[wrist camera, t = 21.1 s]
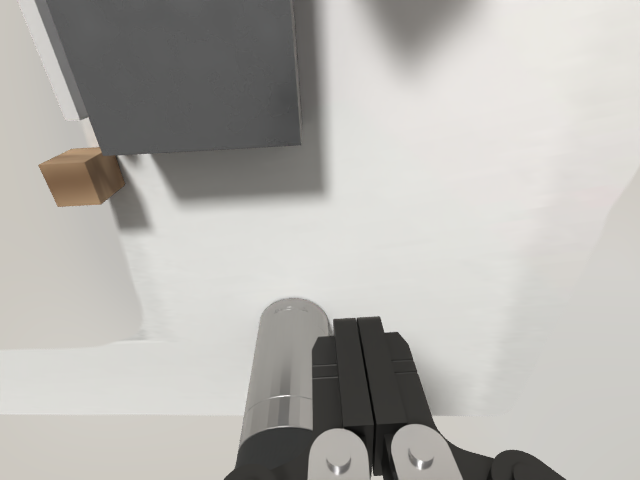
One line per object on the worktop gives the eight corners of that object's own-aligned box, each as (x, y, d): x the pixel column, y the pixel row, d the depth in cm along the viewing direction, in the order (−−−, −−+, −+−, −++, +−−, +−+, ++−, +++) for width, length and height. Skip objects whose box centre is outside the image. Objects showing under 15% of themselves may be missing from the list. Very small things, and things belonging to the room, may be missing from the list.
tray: (285, 99, 33) (282, 108, 29) (96, 110, 33) (65, 121, 29) (265, -122, 25) (257, -153, 21) (18, -109, 25) (-39, -137, 21)
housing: (302, 125, 34) (301, 145, 28) (139, 134, 34) (103, 156, 28) (281, -172, 24) (272, -241, 18) (49, -160, 24) (-37, -225, 18)
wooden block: (125, 184, 37) (101, 204, 32) (87, 186, 37) (58, 206, 32) (111, 146, 35) (84, 162, 30) (71, 148, 35) (38, 164, 30)
